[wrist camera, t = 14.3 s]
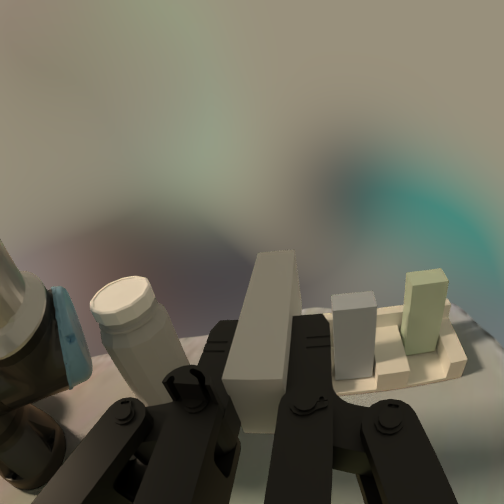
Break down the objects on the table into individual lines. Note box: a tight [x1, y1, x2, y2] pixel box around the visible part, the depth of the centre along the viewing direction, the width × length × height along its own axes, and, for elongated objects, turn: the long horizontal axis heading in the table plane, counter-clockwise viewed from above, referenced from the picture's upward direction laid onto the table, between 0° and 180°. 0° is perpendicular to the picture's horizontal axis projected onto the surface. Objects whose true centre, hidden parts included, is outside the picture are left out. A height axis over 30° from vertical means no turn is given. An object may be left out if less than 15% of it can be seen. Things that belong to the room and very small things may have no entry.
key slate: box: [331, 291, 377, 380], centre depth 37 cm, size 3×5×12 cm, turn 81°
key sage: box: [400, 268, 449, 355], centre depth 37 cm, size 3×5×12 cm, turn 81°
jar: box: [90, 276, 190, 407], centre depth 40 cm, size 10×10×18 cm
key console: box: [323, 299, 468, 396], centre depth 40 cm, size 10×31×6 cm, turn 81°
